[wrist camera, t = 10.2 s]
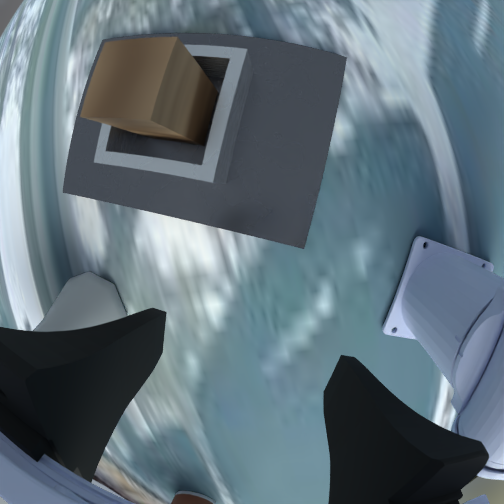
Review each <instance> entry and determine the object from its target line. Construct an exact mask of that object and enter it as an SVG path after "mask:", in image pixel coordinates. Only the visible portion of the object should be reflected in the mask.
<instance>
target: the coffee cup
mask: <svg viewBox="0 0 504 504" xmlns="http://www.w3.org/2000/svg"><path fill="white" fill-rule="evenodd" d="M215 503H216V502H215V501H214V500H213V499H211V498H209V497H208V496H205V495H203V494H200V493H196V492H192V491H178V492H177V493H176V494H175V497H174V499H173V501H172V503H171V504H215Z"/></svg>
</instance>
